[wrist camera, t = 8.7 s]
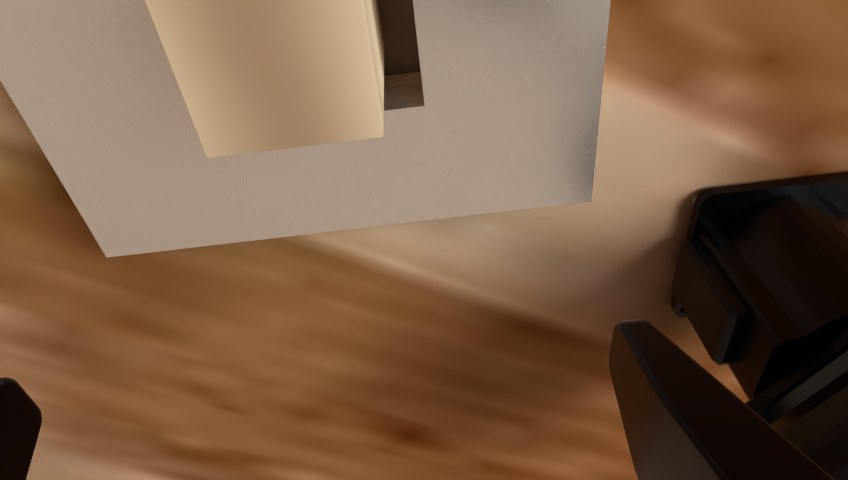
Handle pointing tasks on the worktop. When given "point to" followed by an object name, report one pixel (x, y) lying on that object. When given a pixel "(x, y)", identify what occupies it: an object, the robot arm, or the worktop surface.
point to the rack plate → (317, 164)
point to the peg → (276, 70)
